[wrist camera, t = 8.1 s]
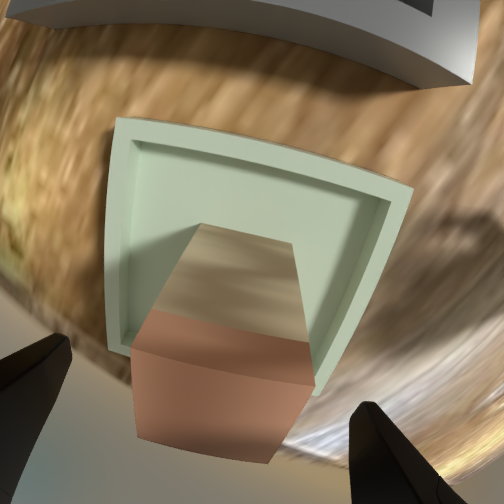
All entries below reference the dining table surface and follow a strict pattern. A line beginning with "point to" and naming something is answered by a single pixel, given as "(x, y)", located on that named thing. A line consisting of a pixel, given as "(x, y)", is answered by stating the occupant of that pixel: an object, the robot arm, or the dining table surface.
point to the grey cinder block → (307, 28)
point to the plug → (224, 349)
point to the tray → (244, 222)
